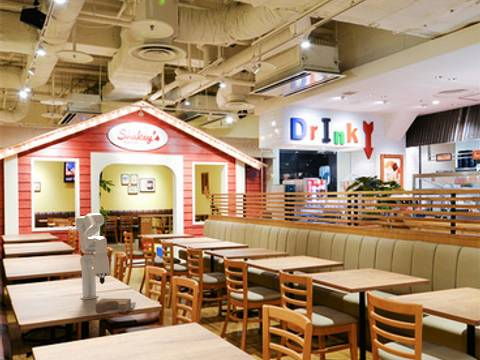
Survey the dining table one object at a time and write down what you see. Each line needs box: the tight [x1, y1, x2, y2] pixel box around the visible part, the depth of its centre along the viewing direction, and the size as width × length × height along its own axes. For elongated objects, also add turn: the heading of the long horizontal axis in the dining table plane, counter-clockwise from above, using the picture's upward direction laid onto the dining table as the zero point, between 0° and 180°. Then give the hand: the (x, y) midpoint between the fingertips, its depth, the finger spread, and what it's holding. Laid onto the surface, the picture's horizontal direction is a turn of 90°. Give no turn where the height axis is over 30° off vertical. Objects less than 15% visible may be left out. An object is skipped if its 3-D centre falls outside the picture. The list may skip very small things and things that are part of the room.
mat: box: [105, 301, 136, 312], centre depth 313 cm, size 16×20×1 cm
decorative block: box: [95, 298, 132, 313], centre depth 305 cm, size 11×6×20 cm
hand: (102, 283), depth 314 cm, fingers closed
